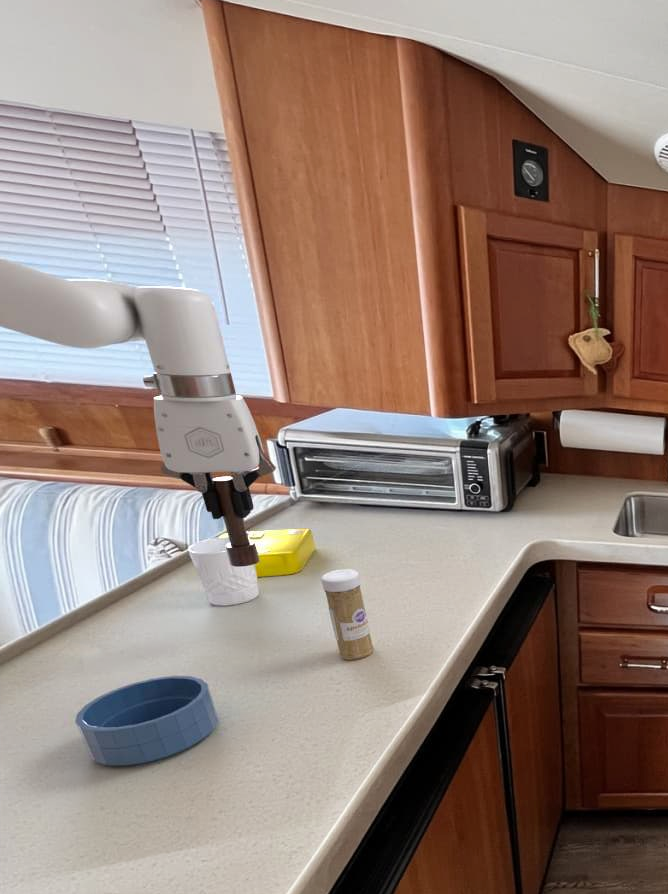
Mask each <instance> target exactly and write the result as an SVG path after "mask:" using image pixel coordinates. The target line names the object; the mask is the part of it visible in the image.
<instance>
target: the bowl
mask: <svg viewBox="0 0 668 894" xmlns="http://www.w3.org/2000/svg"><path fill="white" fill-rule="evenodd" d="M218 714H219V713H218V711H217V708H216V706H215V703H214V700H213V696H212V693H211V690H210V687H209V684H208V683H207V682H206V681H205V680H203V678H201V677H197V676H192V675H168V676H161V677H159V676H158V677H154V678H149V679H144V680H140V681H136V682H133V683H129V684H127V685H124V686H121V687H118V688H114V689H113V690H111V691H108V692H106V693H104V694H102V695H100V696H98V697H96V698H94V699H93V700H91V701H90V702H88V703H87V704H85V705H84V706H83V707H82V708H81V709H80V710H79V711H78V712H77V713H76V717H75V720H74V724H75V725H76V728H77V730H78V732H79V734H80V737H81V739H82V741H83V743H84V745H85V747H86V750H87V752H88V755H89V757H90V758H91V759H92V760H93V761H94V762H96V763H98V764H102V765H106V766H132V765H133V766H134V765H142V764H146V763H151V762H155V761H159V760H163V759H166V758H168V757H171V756H173V755H176V754H179V753H180V752H183V751H186V750H187V749H189V748H190V747H192V746H194V745H196V744H197V743H199V742H200V741H202V740H203V739H204V738H205V737H207V736H208V735H209V734H211V733H212V732H213V731H214V729H215V728H216V726H217V724H218V723H219V715H218Z"/></svg>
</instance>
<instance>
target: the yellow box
mask: <svg viewBox="0 0 668 894" xmlns="http://www.w3.org/2000/svg"><path fill="white" fill-rule="evenodd" d="M247 534H248V537H249V540H251V541H254V542H255V544H256V547H257V551H258V555H259V559H260V561H259V562H258V563H256V564H255V569H256V576H257V578H263V577H264V578H265V577H279V576H289V575H294V574H298V573H299V572H301V571H302V570H303V569H304V568H305V566H306V565H307V563H308V561H309V560H310V558H311V557H312V555H313V554H314V553H315V551H316V544H315V540H314V535H313V531H312V530H311V529H310V528H295V529H294V528H293V529H274V530H256V531H247ZM221 537H228V534H227V532H225V533H223V534H221V535H220V536H218V537H217V538H221Z"/></svg>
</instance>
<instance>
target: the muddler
mask: <svg viewBox="0 0 668 894" xmlns="http://www.w3.org/2000/svg"><path fill="white" fill-rule="evenodd" d="M213 483H214V487H215V491H216V494H217V498H218V501H219V505H220V509H221V512H222V519H223V523H224V527H225V531H226V533H227V534H228V538H229V541H230V543H228V544H226V546H225V547H226V550H227V554H228V557H229V561H230V564H231V565H232V566H236V567H242V566H249V565H253V564H256V563H258V562H259V561H260V559H259V555H258V551H257V547H256V544H255V542H254V541H251V540H249V537H248V534H247V532H248V530H247V526H246V523H245V518H240V517H238V515H237V511H236V507H235V504H234V500H233V496H232V492H233V491H235V490H234V482H233V479H232V476H220V477H215V478H214V477H213Z"/></svg>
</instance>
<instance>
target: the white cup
mask: <svg viewBox="0 0 668 894" xmlns="http://www.w3.org/2000/svg"><path fill="white" fill-rule="evenodd" d="M228 543H230V541H229V538H228V537H221V538H218V537H213V538H209V539H205V540H201V541H197V542H195V543H193V544H191V545H189V546H188V547H187V552H188V554H189V557H190V558H191V559H190V560H191V561H192V565H193V566H194V569H195V572H196V575H197V578H198V580H199V581H200V584H201V586H202V588H203V590H204V593H205V595H206V597H207V600H208V603H209V604H212V605H213V606H222V607H224V606H225V607H226V606H235V605H239V604H243V603H247V602H250V601H252V600H254V599H256V598H258V597H259V596H260V590H259V585H258V577H257V576H256V569H255V564H253V565H249V566H242V567H236V566H232V565H231V564H230V561H229V557H228V554H227V550H226V547H225V546H226V544H228Z"/></svg>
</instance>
